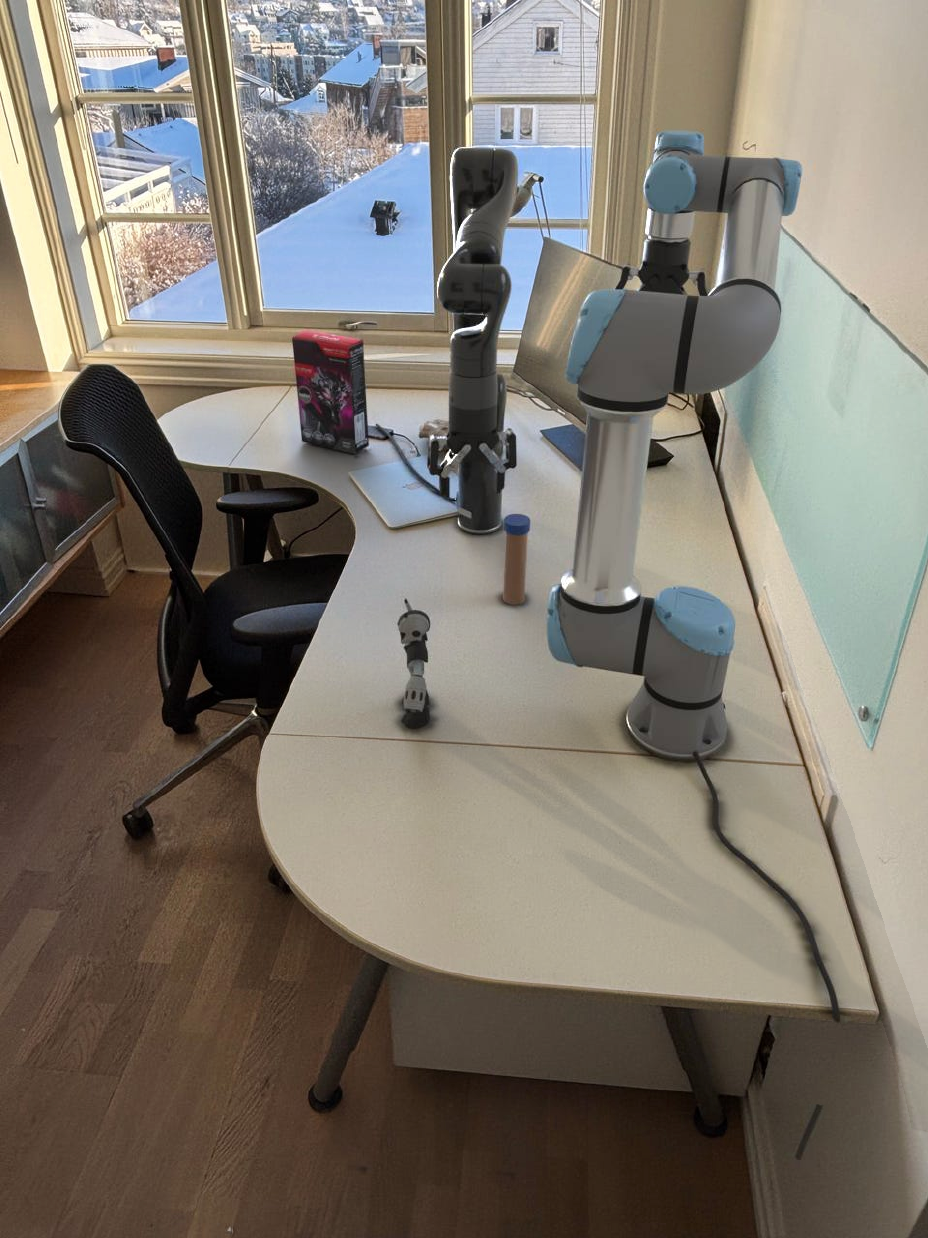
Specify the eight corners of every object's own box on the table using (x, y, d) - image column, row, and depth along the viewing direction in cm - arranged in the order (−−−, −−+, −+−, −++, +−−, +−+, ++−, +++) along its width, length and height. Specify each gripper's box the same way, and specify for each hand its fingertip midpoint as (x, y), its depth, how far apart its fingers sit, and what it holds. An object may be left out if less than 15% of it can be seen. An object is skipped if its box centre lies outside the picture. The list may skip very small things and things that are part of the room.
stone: (402, 443, 226) (407, 419, 224) (421, 434, 240) (426, 412, 237) (483, 468, 223) (489, 444, 220) (497, 458, 236) (503, 435, 234)
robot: (432, 752, 138) (431, 644, 127) (400, 753, 138) (395, 645, 127) (430, 673, 154) (428, 571, 143) (401, 674, 154) (397, 571, 143)
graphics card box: (299, 442, 234) (289, 335, 219) (315, 433, 239) (306, 328, 224) (356, 456, 228) (349, 346, 213) (371, 446, 233) (365, 338, 218)
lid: (511, 520, 169) (511, 511, 168) (534, 526, 167) (534, 517, 166) (499, 531, 165) (499, 521, 164) (522, 537, 163) (522, 528, 162)
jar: (509, 591, 177) (512, 514, 167) (528, 597, 175) (532, 520, 166) (499, 601, 174) (501, 523, 165) (518, 607, 172) (521, 529, 163)
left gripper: (511, 387, 146) (508, 480, 156) (423, 393, 144) (424, 487, 153) (523, 404, 140) (519, 500, 150) (432, 410, 138) (433, 507, 147)
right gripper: (746, 237, 151) (725, 364, 163) (595, 227, 157) (585, 351, 169) (746, 247, 145) (723, 378, 157) (589, 236, 151) (579, 364, 163)
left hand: (471, 493), depth 151 cm, fingers open, 8 cm apart
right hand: (652, 364), depth 163 cm, fingers open, 13 cm apart
